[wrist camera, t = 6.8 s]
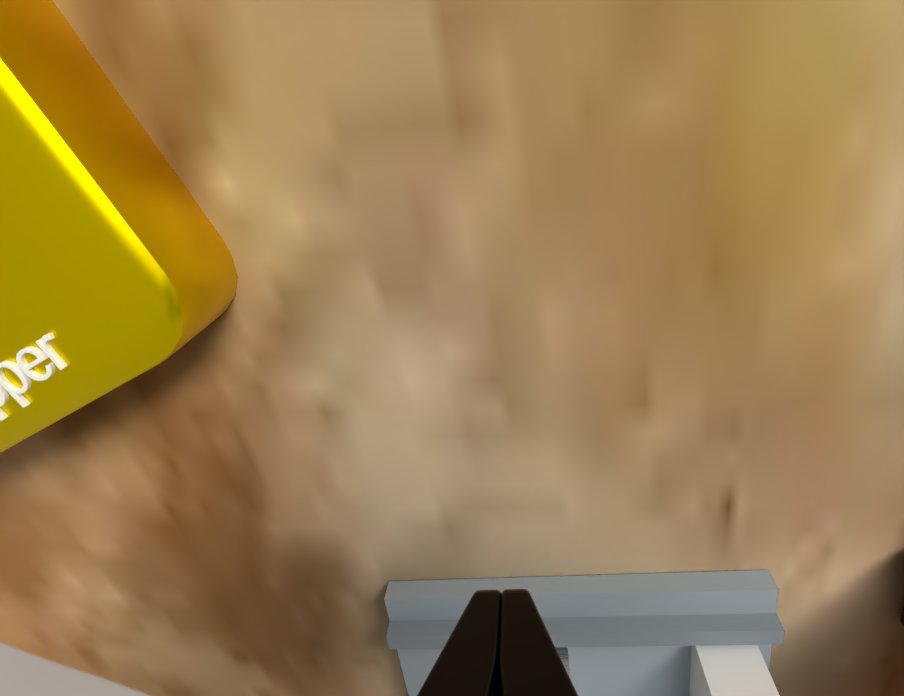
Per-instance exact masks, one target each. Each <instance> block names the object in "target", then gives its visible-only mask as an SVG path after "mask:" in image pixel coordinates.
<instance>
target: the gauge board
mask: <svg viewBox="0 0 904 696" xmlns="http://www.w3.org/2000/svg"><path fill="white" fill-rule="evenodd" d="M495 589H497V590H499V591H500V592H501V593H502V592H503V591H504V590H505V589H526V590H528V591H529V593H530V595H531V597H532V599H533V601H534V603H535V605H536V607H537V609H538V612H539V614H540V616H541V618H542V620H543V622H544V624H545V626H546V629H547V631H548V633H549V635H550V637H551V639H552V641H553V643H554V646H555V648H559V647H567V649H568V659H569V669H570V679H571V682H572V684H573V686H574V688H575V690H576V692H577V694H578V696H780V695H779V693H778V691H777V688H776V686H775V684H774V682H773V679H772V677H771V675H770V672H769V665H770V657H771V649H772V645H783V639H784V632H785V630H784V628H783V626H782V624H781V622H780V620H779V618H778V616H777V614H776V610H777V602H778V595H779V588H778V586H777V584H776V582H775V580H774V579H773V577H772V575H771V573H770V571H769V570H745V571H712V572H680V573H647V574H614V575H582V576H549V577H516V578H483V579H451V580H418V581H388V585H387V590H386V594H385V598H384V601H385V605H386V609H387V613H388V617H389V626H388V630H387V634H386V639H387V643H388V647H389V650H397V652H398V656H399V660H400V664H401V668H402V672H403V676H404V680H405V684H406V688H407V692H408V695H409V696H417V695H418V693H419V691H420V689H421V688H422V686H423V684H424V682H425V680H426V679H427V677H428V675H429V673H430V671H431V669H432V668H433V666H434V664H435V662H436V660H437V659H438V657H439V655H440V653H441V651H442V650H443V648H444V646H445V644H446V642H447V641H448V639H449V637H450V635H451V633H452V632H453V630H454V628H455V626H456V624H457V622H458V621H459V619H460V617H461V615H462V613H463V612H464V610H465V608H466V606H467V604H468V603H469V601H470V599H471V597H472V595H473V594H474V593H475V592H476V591H477V590H495Z"/></svg>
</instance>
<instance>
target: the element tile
mask: <svg viewBox="0 0 904 696" xmlns="http://www.w3.org/2000/svg"><path fill="white" fill-rule="evenodd" d="M237 278H238V277H237V273H236V269H235V266H234V262H233V259H232V256H231V254H230V252H229V250H228V248H227V246H226V244H225V242H224V240H223V239H222V238H221V236H220V235H219V233H218V232H217V231H216V229H215V228H214V226H213V225H212V223H211V222H210V221H209V219H208V218H207V216H206V215H205V214H204V212H203V211H202V209H201V208H200V207H199V205H198V204H197V202H196V201H195V200H194V198H193V197H192V195H191V194H190V193H189V191H188V190H187V188H186V187H185V186H184V184H183V183H182V181H181V180H180V179H179V177H178V176H177V174H176V173H175V172H174V170H173V169H172V167H171V166H170V165H169V163H168V162H167V160H166V159H165V158H164V156H163V155H162V153H161V152H160V151H159V149H158V148H157V146H156V145H155V144H154V142H153V141H152V139H151V138H150V137H149V135H148V134H147V132H146V131H145V130H144V128H143V127H142V125H141V124H140V123H139V121H138V120H137V118H136V117H135V116H134V114H133V113H132V111H131V110H130V109H129V107H128V106H127V104H126V103H125V102H124V100H123V99H122V97H121V96H120V95H119V93H118V92H117V90H116V89H115V88H114V86H113V85H112V83H111V82H110V81H109V79H108V78H107V76H106V75H105V74H104V72H103V71H102V69H101V68H100V66H99V65H98V64H97V62H96V61H95V59H94V58H93V57H92V55H91V54H90V52H89V51H88V50H87V48H86V47H85V45H84V44H83V43H82V41H81V40H80V38H79V37H78V36H77V34H76V33H75V31H74V30H73V29H72V27H71V26H70V24H69V23H68V22H67V20H66V19H65V17H64V16H63V15H62V13H61V12H60V10H59V9H58V8H57V6H56V5H55V3H54V2H53V1H52V0H0V453H1V452H3V451H5V450H7V449H9V448H10V447H12V446H14V445H16V444H18V443H19V442H21V441H23V440H25V439H26V438H28V437H30V436H32V435H34V434H35V433H37V432H39V431H41V430H42V429H44V428H46V427H48V426H50V425H51V424H53V423H55V422H57V421H59V420H60V419H62V418H64V417H66V416H67V415H69V414H71V413H73V412H75V411H76V410H78V409H80V408H82V407H84V406H85V405H87V404H89V403H91V402H92V401H94V400H96V399H98V398H100V397H101V396H103V395H105V394H107V393H109V392H110V391H112V390H114V389H116V388H117V387H119V386H121V385H123V384H125V383H126V382H128V381H130V380H132V379H134V378H135V377H137V376H139V375H141V374H142V373H144V372H146V371H148V370H150V369H151V368H153V367H155V366H157V365H159V364H160V363H162V362H164V361H165V360H166V359H167V358H169V357H170V356H171V355H172V354H174V353H175V352H176V351H177V350H179V349H180V348H181V347H182V346H183V345H185V344H186V343H187V342H188V341H190V340H191V339H192V338H193V337H195V336H196V335H197V334H198V333H199V332H201V331H202V330H203V329H204V328H206V327H207V326H208V325H209V324H211V323H212V322H213V321H214V320H216V319H217V318H218V317H219V316H220V315H221V314H222V313H224V312H225V311H226V310H227V308H228V306H229V305H230V303H231V302H232V300H233V298H234V297H235V295H236V287H237Z"/></svg>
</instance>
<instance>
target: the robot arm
mask: <svg viewBox="0 0 904 696" xmlns="http://www.w3.org/2000/svg"><path fill="white" fill-rule="evenodd" d="M901 624H902V625H903V626H904V608H903V612H902V616H901ZM417 696H578V694H577V692H576V690H575V688H574V686H573V684H572V682H571V679H570V677H569V675H568V673H567V671H566V669H565V667H564V665H563V662H562V660H561V658H560V656H559V654H558V652H557V650H556V648H555V646H554V643H553V641H552V639H551V637H550V635H549V633H548V631H547V629H546V626H545V624H544V622H543V620H542V618H541V616H540V614H539V612H538V609H537V607H536V605H535V603H534V601H533V599H532V597H531V595H530V593H529V591H528V590H526V589H505V590H504V591H503V592H502V593H501V592H500V591H499V590H497V589H495V590H477V591H476V592H475V593H474V594H473V595H472V597H471V599H470V601H469V603H468V604H467V606H466V608H465V610H464V612H463V613H462V615H461V617H460V619H459V621H458V622H457V624H456V626H455V628H454V630H453V632H452V633H451V635H450V637H449V639H448V641H447V642H446V644H445V646H444V648H443V650H442V651H441V653H440V655H439V657H438V659H437V660H436V662H435V664H434V666H433V668H432V669H431V671H430V673H429V675H428V677H427V679H426V680H425V682H424V684H423V686H422V688H421V689H420V691H419V693H418V695H417Z"/></svg>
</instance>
